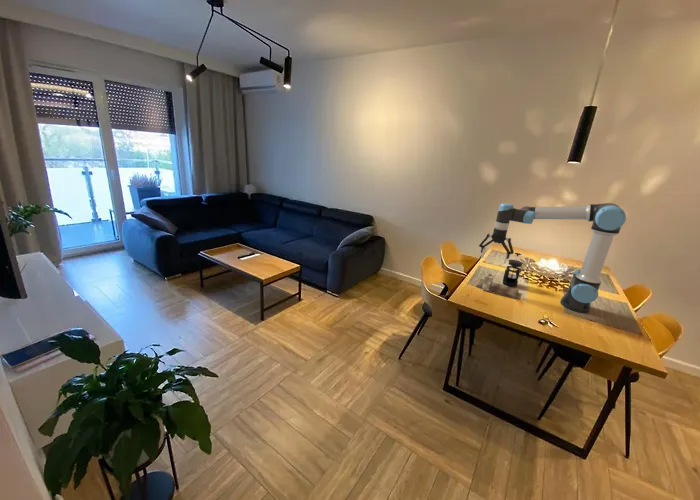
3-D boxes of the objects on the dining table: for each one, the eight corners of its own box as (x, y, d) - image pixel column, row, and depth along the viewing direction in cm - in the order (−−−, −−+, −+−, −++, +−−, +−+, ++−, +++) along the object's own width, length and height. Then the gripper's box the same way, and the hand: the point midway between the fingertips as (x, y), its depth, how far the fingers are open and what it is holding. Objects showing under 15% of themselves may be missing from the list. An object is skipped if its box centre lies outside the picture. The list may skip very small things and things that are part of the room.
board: (518, 292, 200) (518, 289, 200) (515, 299, 191) (516, 296, 190) (480, 281, 213) (480, 278, 212) (475, 287, 204) (476, 284, 203)
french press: (510, 280, 218) (518, 250, 210) (521, 286, 210) (529, 255, 202) (497, 281, 214) (505, 251, 206) (507, 288, 206) (516, 256, 198)
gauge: (490, 287, 204) (494, 273, 200) (488, 291, 198) (491, 276, 194) (484, 285, 206) (487, 271, 203) (481, 289, 200) (485, 274, 196)
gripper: (524, 231, 184) (515, 263, 192) (481, 223, 197) (474, 253, 205) (522, 234, 178) (513, 267, 186) (478, 225, 192) (471, 256, 199)
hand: (493, 260), depth 195 cm, fingers open, 13 cm apart
